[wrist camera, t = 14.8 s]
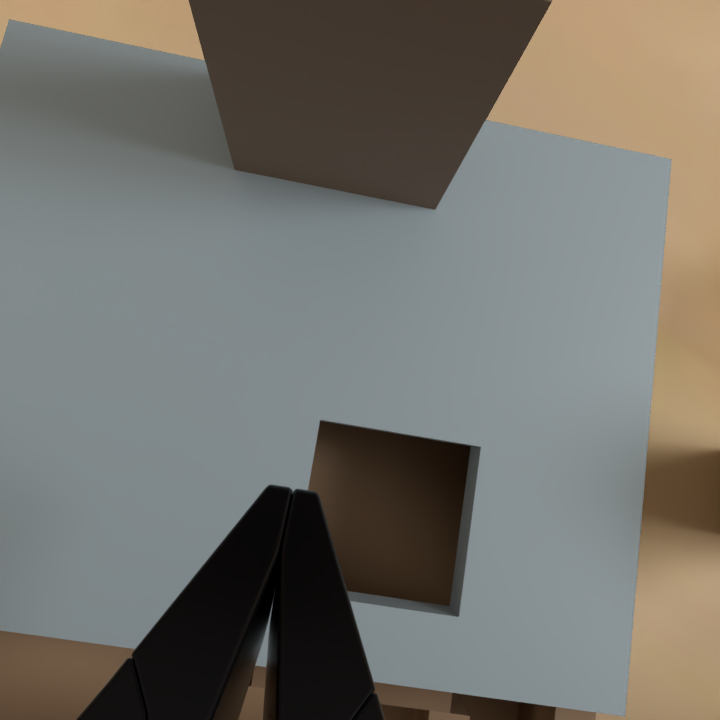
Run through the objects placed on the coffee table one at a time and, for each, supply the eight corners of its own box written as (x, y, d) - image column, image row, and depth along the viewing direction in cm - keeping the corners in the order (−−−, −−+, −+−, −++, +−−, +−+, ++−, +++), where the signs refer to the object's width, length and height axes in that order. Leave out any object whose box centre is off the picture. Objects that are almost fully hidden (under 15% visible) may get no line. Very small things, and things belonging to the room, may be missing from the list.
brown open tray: (520, 889, 18) (570, 993, 15) (-108, 817, 17) (-212, 914, 14) (571, 411, 21) (623, 406, 17) (26, 315, 20) (-35, 289, 16)
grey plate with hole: (605, 699, 16) (975, 1022, 7) (-133, 596, 15) (-810, 838, 6) (652, 174, 19) (968, -69, 10) (26, 43, 17) (-275, -381, 8)
